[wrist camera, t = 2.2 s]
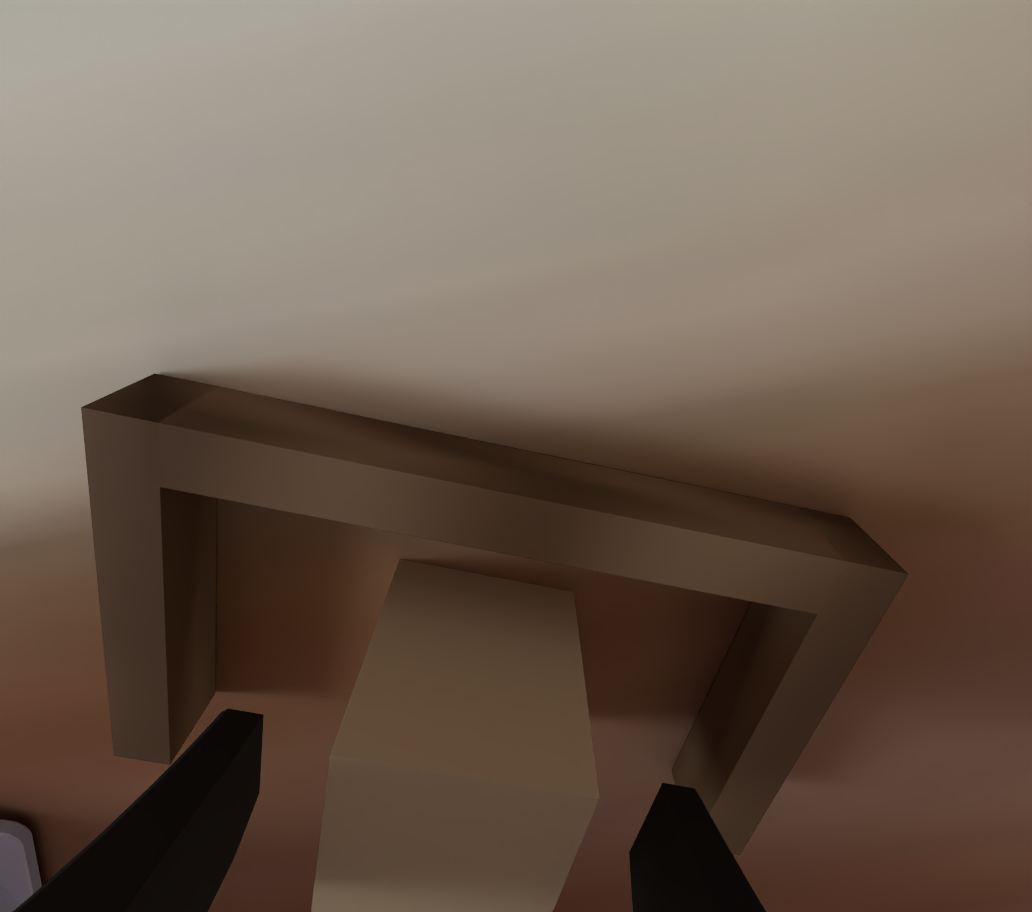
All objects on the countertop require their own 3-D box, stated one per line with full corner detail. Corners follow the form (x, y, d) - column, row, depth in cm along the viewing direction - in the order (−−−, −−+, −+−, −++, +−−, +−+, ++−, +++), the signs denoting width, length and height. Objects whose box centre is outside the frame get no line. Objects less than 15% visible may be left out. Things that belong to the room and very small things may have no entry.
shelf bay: (166, 685, 14) (113, 755, 12) (154, 373, 11) (82, 407, 9) (714, 777, 15) (740, 855, 14) (850, 517, 12) (908, 574, 10)
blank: (379, 688, 14) (310, 914, 10) (400, 558, 13) (329, 754, 8) (533, 715, 15) (538, 947, 10) (573, 590, 13) (599, 799, 9)
